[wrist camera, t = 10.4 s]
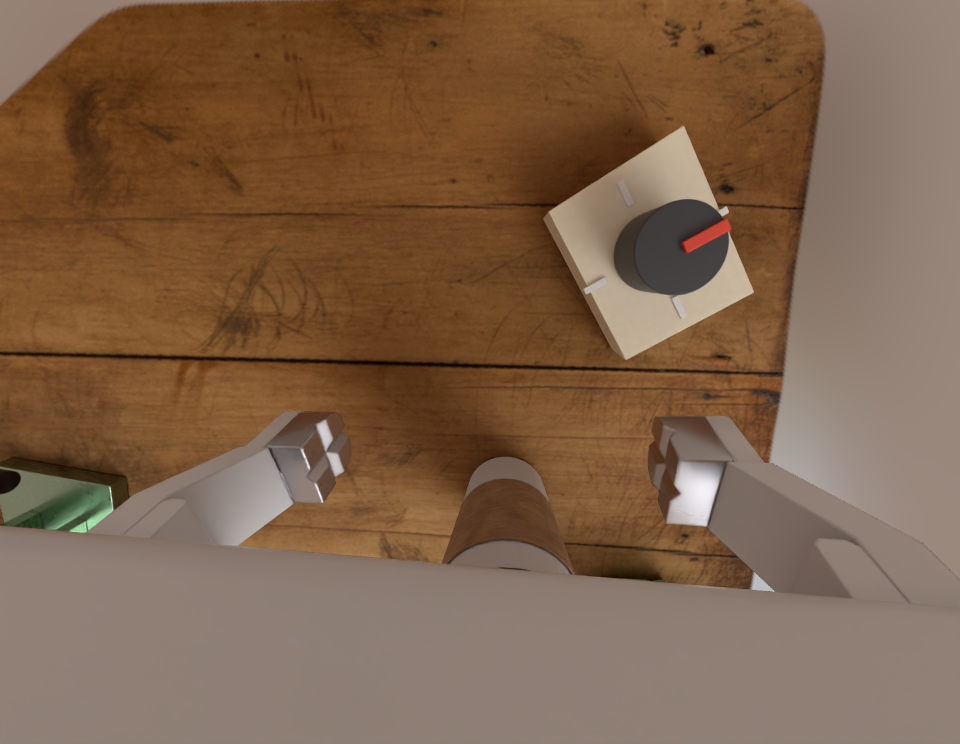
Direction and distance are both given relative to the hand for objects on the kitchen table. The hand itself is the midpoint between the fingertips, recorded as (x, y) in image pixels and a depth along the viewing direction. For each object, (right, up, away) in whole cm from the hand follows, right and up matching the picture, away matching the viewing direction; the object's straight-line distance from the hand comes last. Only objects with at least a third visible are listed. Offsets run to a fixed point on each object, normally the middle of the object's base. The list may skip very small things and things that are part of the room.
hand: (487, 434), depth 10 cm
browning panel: (+10, +9, +14) cm, 20 cm away
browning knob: (+10, +8, +11) cm, 17 cm away
